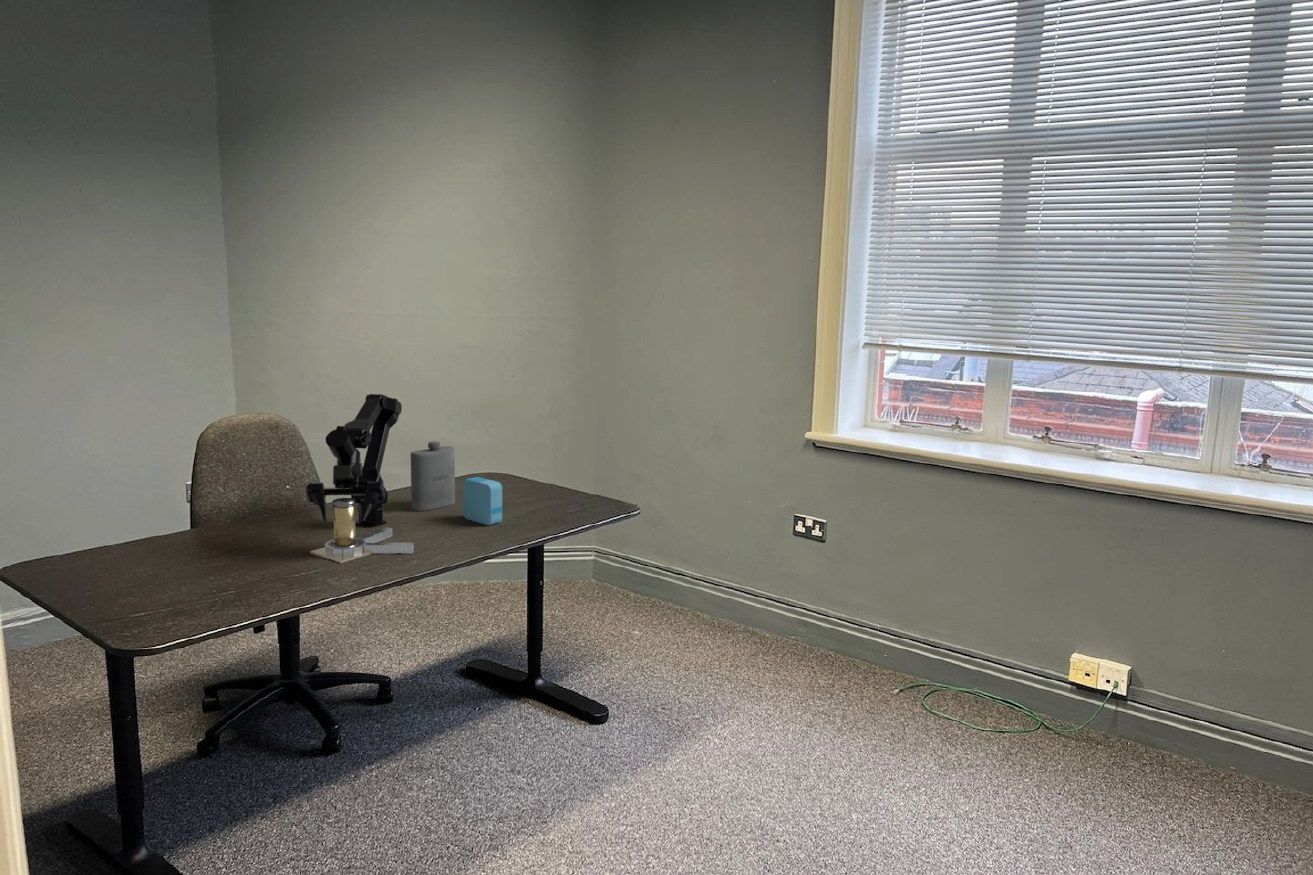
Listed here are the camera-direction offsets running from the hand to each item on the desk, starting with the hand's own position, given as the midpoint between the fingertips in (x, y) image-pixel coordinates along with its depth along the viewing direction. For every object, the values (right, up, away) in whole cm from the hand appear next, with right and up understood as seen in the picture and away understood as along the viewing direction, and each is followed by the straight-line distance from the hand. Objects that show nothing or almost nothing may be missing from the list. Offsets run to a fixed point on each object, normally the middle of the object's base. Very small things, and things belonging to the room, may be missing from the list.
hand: (343, 520), depth 233 cm
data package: (+28, -3, +35) cm, 45 cm away
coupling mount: (+6, -8, +5) cm, 11 cm away
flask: (+11, 0, +48) cm, 49 cm away
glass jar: (0, -8, +3) cm, 8 cm away
